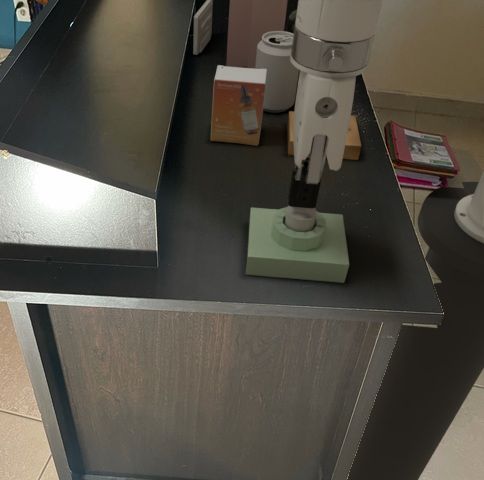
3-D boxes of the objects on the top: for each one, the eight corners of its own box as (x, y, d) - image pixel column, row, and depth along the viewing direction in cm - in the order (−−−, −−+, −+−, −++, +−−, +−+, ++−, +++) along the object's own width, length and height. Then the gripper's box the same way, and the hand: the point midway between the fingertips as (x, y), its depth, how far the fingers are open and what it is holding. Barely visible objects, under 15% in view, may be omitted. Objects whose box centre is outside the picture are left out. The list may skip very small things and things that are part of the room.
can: (247, 96, 106) (253, 29, 97) (286, 94, 107) (295, 27, 98) (257, 116, 100) (265, 46, 92) (299, 113, 101) (309, 44, 93)
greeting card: (278, 61, 117) (287, -19, 107) (292, 76, 112) (303, -7, 102) (224, 66, 115) (229, -15, 105) (236, 82, 110) (242, -2, 100)
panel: (352, 129, 98) (355, 114, 96) (358, 160, 90) (361, 145, 89) (287, 124, 98) (289, 110, 97) (287, 155, 91) (290, 140, 89)
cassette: (199, 56, 119) (200, 17, 113) (190, 55, 119) (191, 16, 114) (213, 35, 127) (215, -2, 122) (205, 34, 127) (206, -3, 122)
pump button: (313, 216, 72) (316, 202, 70) (314, 234, 69) (317, 220, 68) (284, 214, 72) (286, 200, 71) (284, 231, 70) (286, 218, 68)
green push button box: (338, 232, 77) (345, 201, 74) (344, 283, 70) (353, 251, 66) (248, 225, 78) (252, 194, 74) (245, 274, 71) (249, 243, 67)
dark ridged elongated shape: (305, -1, 131) (283, 18, 121) (318, 1, 130) (296, 20, 120) (302, 22, 134) (280, 42, 124) (314, 24, 134) (293, 45, 123)
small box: (209, 142, 94) (212, 79, 86) (213, 125, 98) (216, 63, 90) (259, 146, 93) (266, 83, 86) (261, 129, 97) (267, 67, 90)
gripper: (379, 83, 50) (337, 246, 63) (361, 23, 61) (329, 172, 74) (293, 77, 51) (269, 240, 63) (290, 18, 61) (270, 167, 74)
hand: (301, 203), depth 69 cm, fingers closed
